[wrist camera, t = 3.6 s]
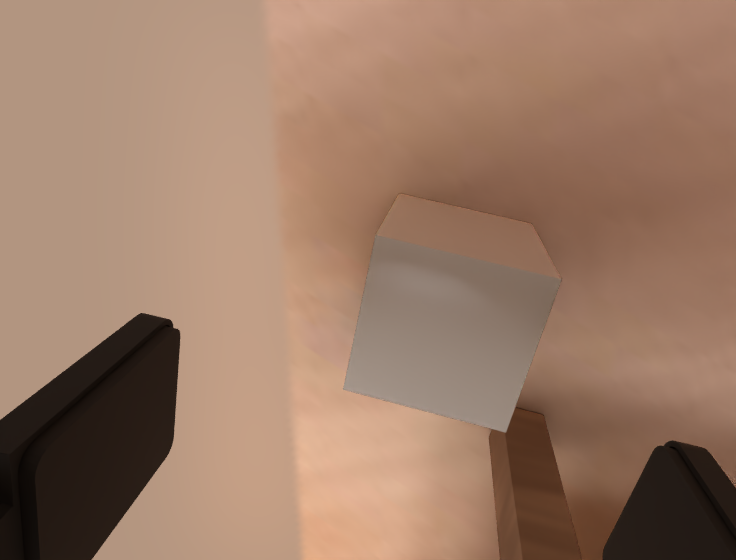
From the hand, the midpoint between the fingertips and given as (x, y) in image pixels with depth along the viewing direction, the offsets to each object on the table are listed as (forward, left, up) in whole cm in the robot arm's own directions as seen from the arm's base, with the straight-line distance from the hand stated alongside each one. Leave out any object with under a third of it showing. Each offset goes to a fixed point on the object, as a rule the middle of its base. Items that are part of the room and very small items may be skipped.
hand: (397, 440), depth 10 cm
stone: (0, +1, -11) cm, 11 cm away
